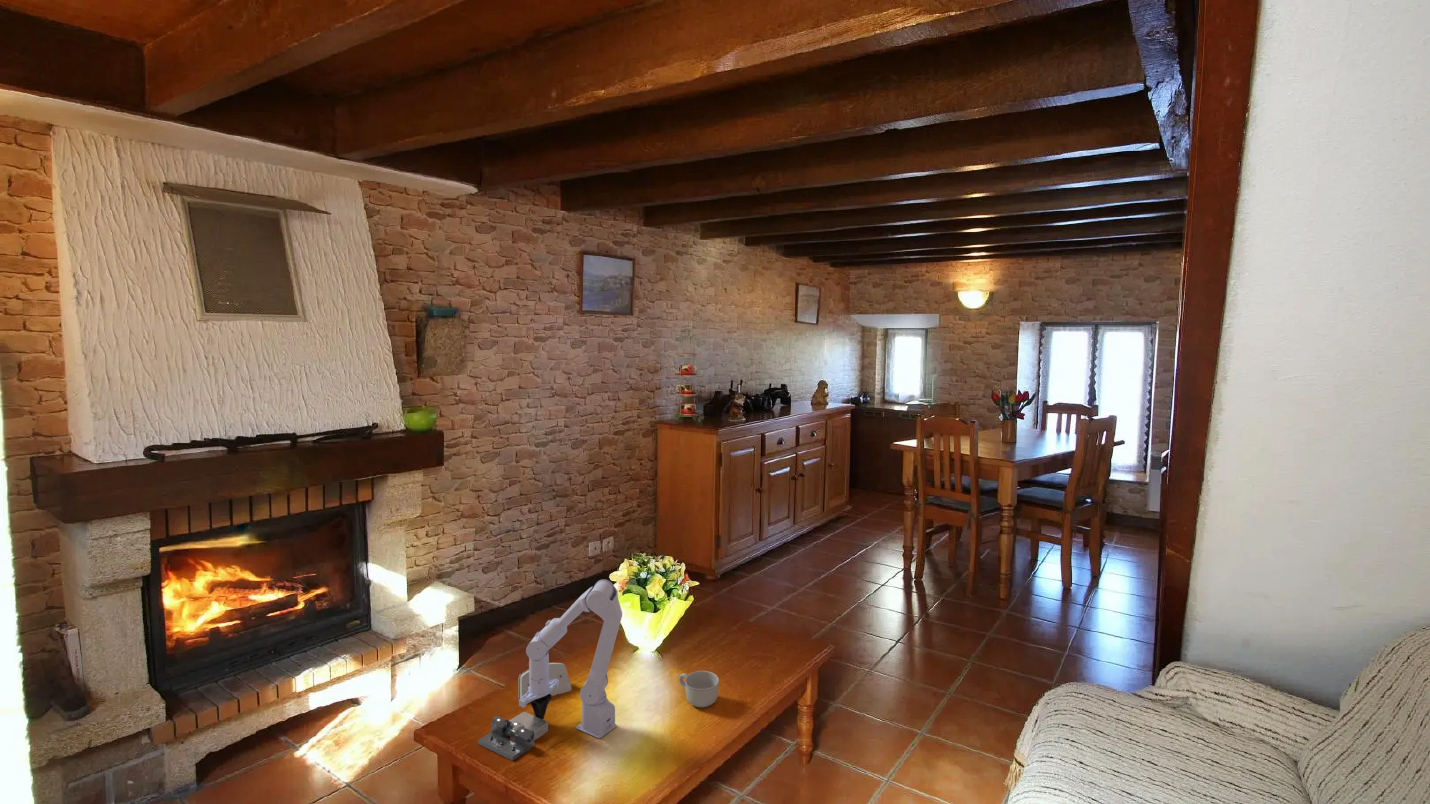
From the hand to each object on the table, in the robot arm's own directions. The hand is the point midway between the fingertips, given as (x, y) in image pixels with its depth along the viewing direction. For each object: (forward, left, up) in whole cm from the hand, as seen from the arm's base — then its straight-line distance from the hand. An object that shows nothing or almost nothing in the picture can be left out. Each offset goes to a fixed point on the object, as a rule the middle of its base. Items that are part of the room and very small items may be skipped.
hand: (539, 718), depth 211 cm
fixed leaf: (0, +12, -1) cm, 12 cm away
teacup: (-33, -36, -2) cm, 49 cm away
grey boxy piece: (0, +6, -1) cm, 6 cm away
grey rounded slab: (+12, -13, -2) cm, 18 cm away
